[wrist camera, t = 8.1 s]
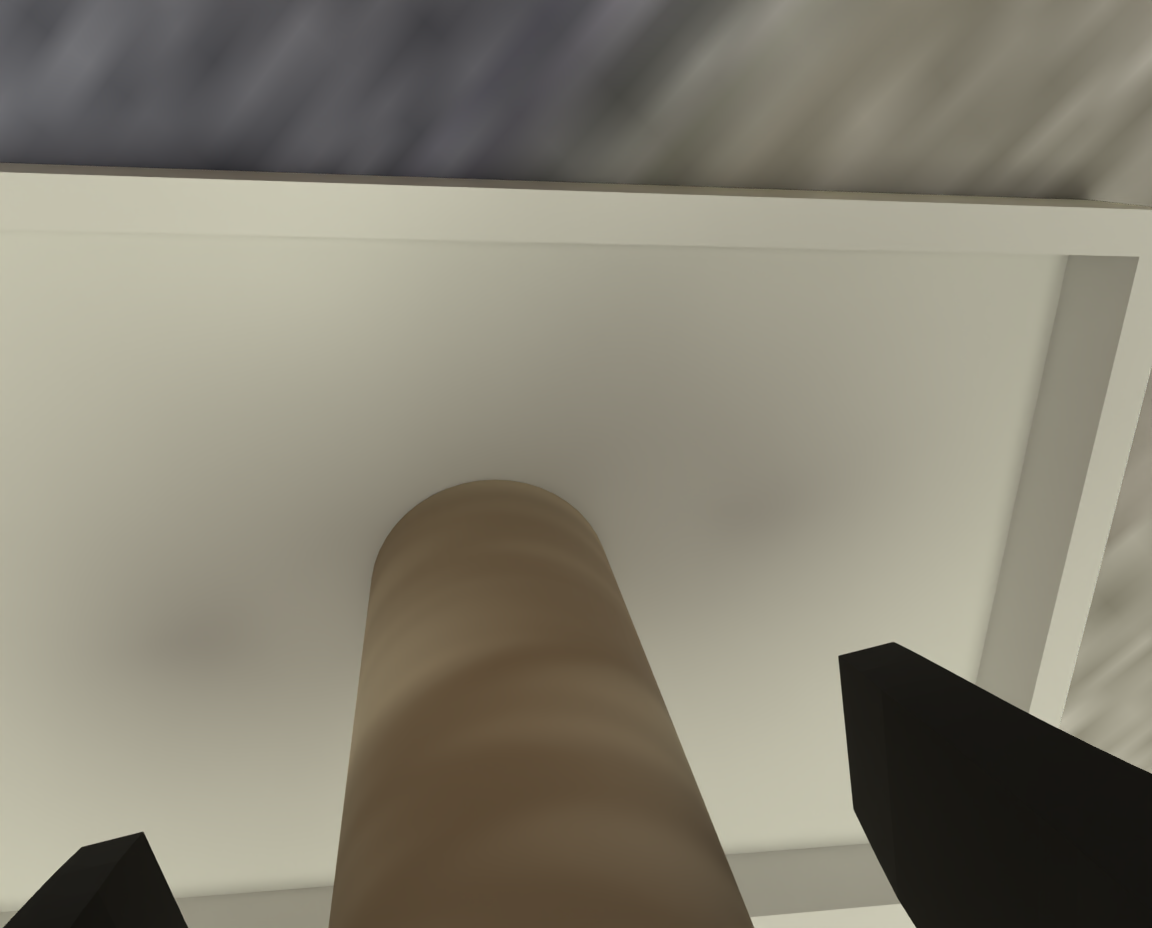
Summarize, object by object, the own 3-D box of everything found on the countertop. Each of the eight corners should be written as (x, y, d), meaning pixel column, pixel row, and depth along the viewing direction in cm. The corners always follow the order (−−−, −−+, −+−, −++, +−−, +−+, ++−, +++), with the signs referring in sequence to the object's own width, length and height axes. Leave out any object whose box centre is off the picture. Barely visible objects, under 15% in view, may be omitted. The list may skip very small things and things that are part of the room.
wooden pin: (582, 453, 13) (833, 1013, 5) (628, 656, 15) (886, 1363, 6) (339, 514, 13) (186, 1203, 5) (408, 715, 15) (380, 1525, 6)
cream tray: (1089, 199, 14) (1190, 211, 12) (949, 837, 18) (1009, 920, 16) (-250, 153, 11) (-385, 160, 9) (-59, 918, 15) (-127, 1028, 13)
